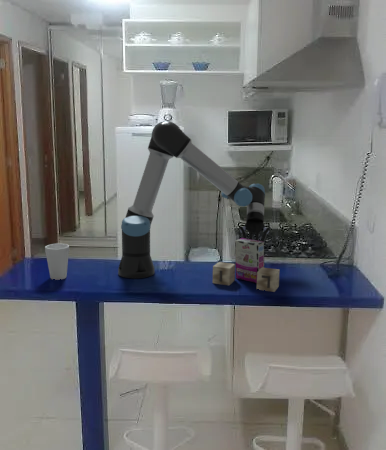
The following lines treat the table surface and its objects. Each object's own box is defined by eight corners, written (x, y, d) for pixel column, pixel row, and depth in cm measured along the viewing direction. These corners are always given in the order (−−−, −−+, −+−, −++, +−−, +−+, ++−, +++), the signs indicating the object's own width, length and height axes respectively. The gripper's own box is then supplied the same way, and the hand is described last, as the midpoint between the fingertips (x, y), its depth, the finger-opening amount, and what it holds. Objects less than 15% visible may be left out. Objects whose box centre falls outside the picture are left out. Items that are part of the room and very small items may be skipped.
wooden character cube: (212, 283, 193) (212, 266, 192) (218, 278, 200) (218, 261, 198) (228, 285, 191) (229, 268, 189) (234, 280, 197) (235, 263, 196)
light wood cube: (256, 289, 187) (257, 272, 185) (261, 284, 193) (262, 267, 192) (274, 292, 184) (275, 274, 182) (278, 286, 190) (279, 269, 189)
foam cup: (75, 275, 200) (74, 245, 198) (60, 282, 192) (58, 250, 189) (56, 272, 204) (55, 242, 202) (41, 278, 196) (39, 247, 193)
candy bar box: (265, 280, 196) (264, 241, 192) (258, 284, 193) (257, 244, 188) (242, 274, 203) (241, 237, 199) (235, 278, 200) (234, 240, 195)
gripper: (270, 220, 215) (268, 268, 202) (240, 219, 217) (236, 266, 204) (270, 211, 209) (268, 259, 196) (240, 209, 211) (236, 257, 198)
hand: (252, 262), depth 200 cm, fingers closed
